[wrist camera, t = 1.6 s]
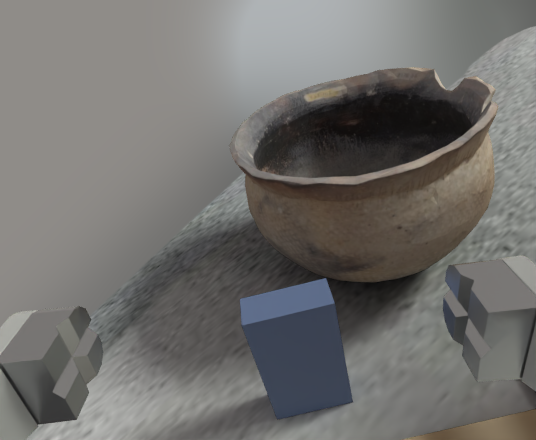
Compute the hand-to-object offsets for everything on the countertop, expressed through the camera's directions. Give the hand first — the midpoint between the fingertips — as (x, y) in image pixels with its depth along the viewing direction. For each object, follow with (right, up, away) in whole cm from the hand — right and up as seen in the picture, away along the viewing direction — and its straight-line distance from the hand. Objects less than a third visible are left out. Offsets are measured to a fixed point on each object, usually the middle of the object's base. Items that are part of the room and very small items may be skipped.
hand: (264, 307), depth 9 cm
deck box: (+3, -11, +20) cm, 23 cm away
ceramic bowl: (+11, -1, +33) cm, 34 cm away
